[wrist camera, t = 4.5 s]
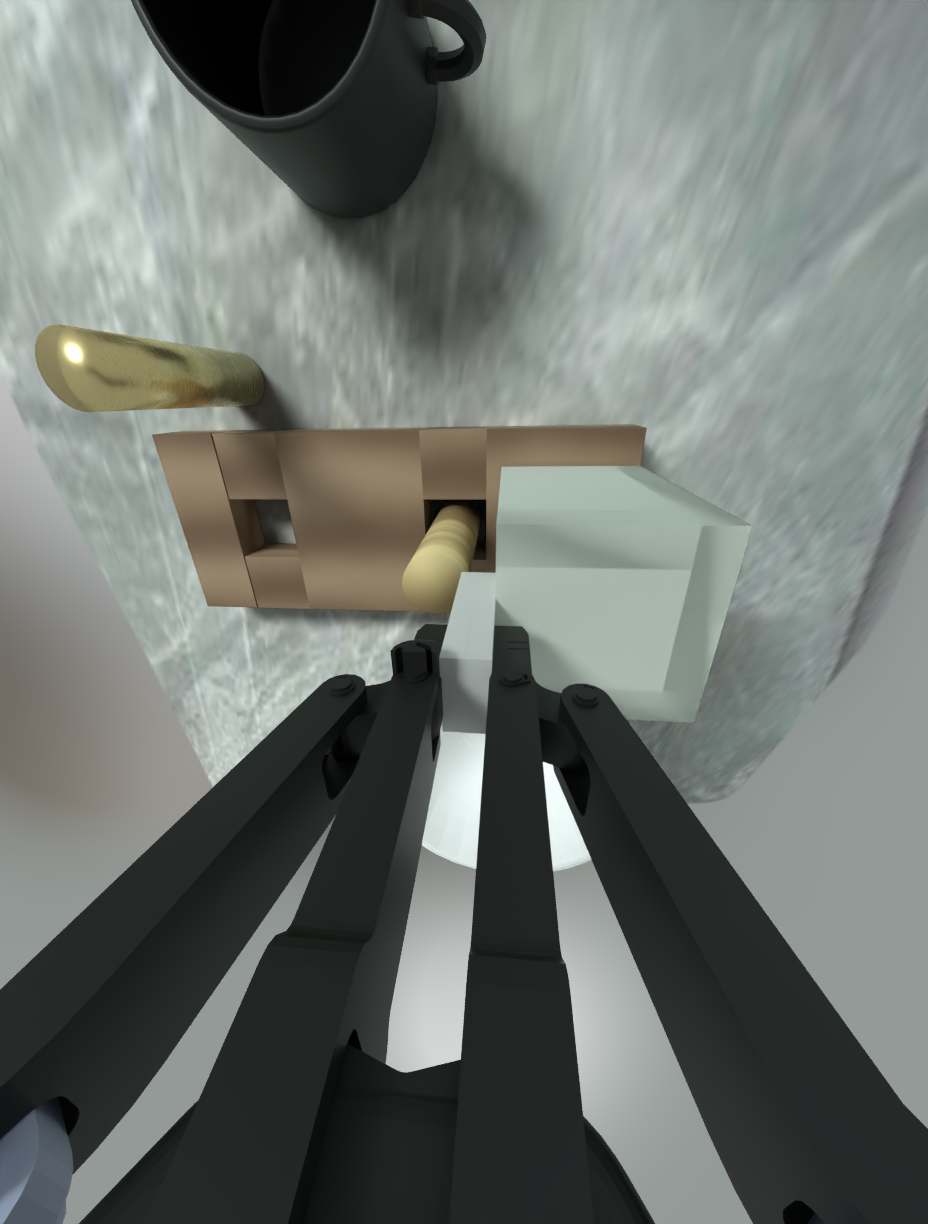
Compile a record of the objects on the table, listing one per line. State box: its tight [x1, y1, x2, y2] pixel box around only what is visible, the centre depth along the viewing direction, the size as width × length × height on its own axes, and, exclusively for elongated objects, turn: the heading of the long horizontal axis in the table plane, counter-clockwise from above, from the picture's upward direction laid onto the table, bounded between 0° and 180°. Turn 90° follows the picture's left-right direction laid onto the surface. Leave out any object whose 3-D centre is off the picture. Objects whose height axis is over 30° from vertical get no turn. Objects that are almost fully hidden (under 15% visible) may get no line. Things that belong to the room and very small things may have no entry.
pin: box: [35, 325, 265, 412], centre depth 22 cm, size 3×3×12 cm
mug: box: [131, 0, 486, 218], centre depth 17 cm, size 9×12×9 cm
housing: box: [495, 466, 752, 723], centre depth 21 cm, size 8×8×13 cm
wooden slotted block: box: [152, 425, 646, 614], centre depth 25 cm, size 12×30×12 cm, turn 91°
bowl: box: [422, 724, 592, 871], centre depth 34 cm, size 20×19×8 cm
